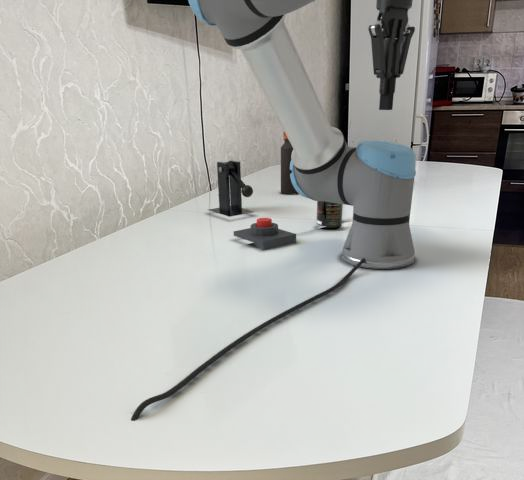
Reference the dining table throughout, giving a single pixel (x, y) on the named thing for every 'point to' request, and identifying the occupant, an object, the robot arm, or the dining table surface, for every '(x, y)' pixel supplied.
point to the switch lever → (240, 181)
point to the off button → (264, 222)
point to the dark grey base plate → (266, 236)
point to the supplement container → (329, 215)
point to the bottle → (286, 168)
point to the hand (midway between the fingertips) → (385, 109)
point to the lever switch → (229, 191)
